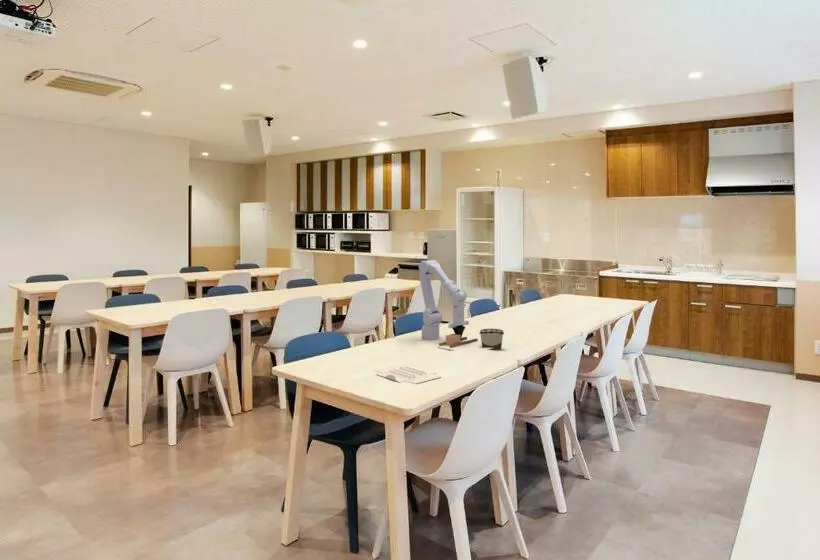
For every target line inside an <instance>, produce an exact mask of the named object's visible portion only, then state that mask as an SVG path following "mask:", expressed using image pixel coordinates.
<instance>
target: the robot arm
mask: <svg viewBox="0 0 820 560" xmlns="http://www.w3.org/2000/svg"><path fill="white" fill-rule="evenodd" d="M418 270H419V282H420V287H421V291H422V296H423V297H422V298H423V301H424V302H423V303H424V306H425V309H424V310H423V312H422V314H423V315H422V321H423V325H422V327H421V341H424V340H429V341H439V340H440V324H441V322H442V321H443V316H442V313H441V311H440V309H439V308H438V307H437V306H436V301H435V297H434V292H433V287H432V282H431V277H432V276H433V275H435V276H436V277H437V278H438V279H439V280H440V281H441V282H442V283H443V288H444V289H445V291H446V292H447V293H448V295H449V296H450V300H451V302H452V311H453V312H452V317H453V318H452V319H453V320H452V322H451V323H448V324H447V325H448V326H447V327H448V329H452V331H453V334H458V335H461V338H462V337H463V334H464V331H465V330H466V326H467V325H468V326H469V320H465V301H466V300H467V293H466V292H465V291H464V290H461V289H460V287H459V286H458V285H457V284H456V282H455V281H454V280H452V279H450V278H448V276H447V274H446V273H445V272H444V271H443V269H442V267H441V264H440V263H439V261H438V260H436V259H432V260H431V259H430V260H428V259H427V260H422V261H421V262H420V263H419V265H418Z"/></svg>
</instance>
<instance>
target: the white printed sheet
mask: <svg viewBox="0 0 820 560" xmlns="http://www.w3.org/2000/svg"><path fill="white" fill-rule="evenodd" d="M374 370H375V371H374V372H376V371H377V373H376V374H377V375H376V376H380V377H383V378H386V379H389V380H393V381H395V382H398V383H400V384H401V383H405V382H408V383H410V384H414V385H417V384H419V383H424V382H427V381H433V380H435V379H439V378H440V379H441V378H442V377H441V376H439V375H436V374H438V373H437V372H435V371H432V370H429V369H425V368H422V367H417V366H414V365H411V366H410V365H409V366H404V365H401V364H396V365H390V366H386V367H382V368H378V369H374ZM379 372H380V373H379Z"/></svg>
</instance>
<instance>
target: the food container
mask: <svg viewBox="0 0 820 560" xmlns="http://www.w3.org/2000/svg"><path fill="white" fill-rule="evenodd" d="M478 334H479V335H480V342H481V349H482V348H484V349H485V348H490V349H488V351H502V346H503V345H502V344H503V337H504V336H503V335H505V333H504V330H502V329H500V328H482V329H480V330H479V333H478Z"/></svg>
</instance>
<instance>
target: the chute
mask: <svg viewBox="0 0 820 560" xmlns="http://www.w3.org/2000/svg"><path fill="white" fill-rule="evenodd" d="M478 341H479V339H478V338H472V339H469V340H468V336H462V338H461V342H460V343H456V344H453V345H450V346H449V348H443V347H442V346H447V345H446V341H443V342H440V343H438V345H439V347H438V346H437V348H438V349H442V350H447V351H452V352H455V350H454V348H457V347H460V346H464V345H468V344H472V343H476V342H478Z"/></svg>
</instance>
